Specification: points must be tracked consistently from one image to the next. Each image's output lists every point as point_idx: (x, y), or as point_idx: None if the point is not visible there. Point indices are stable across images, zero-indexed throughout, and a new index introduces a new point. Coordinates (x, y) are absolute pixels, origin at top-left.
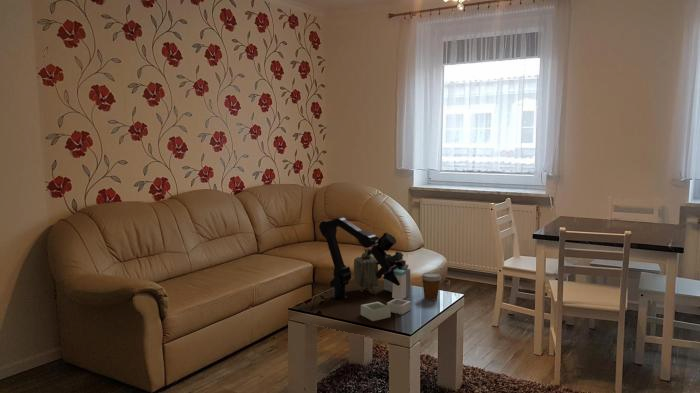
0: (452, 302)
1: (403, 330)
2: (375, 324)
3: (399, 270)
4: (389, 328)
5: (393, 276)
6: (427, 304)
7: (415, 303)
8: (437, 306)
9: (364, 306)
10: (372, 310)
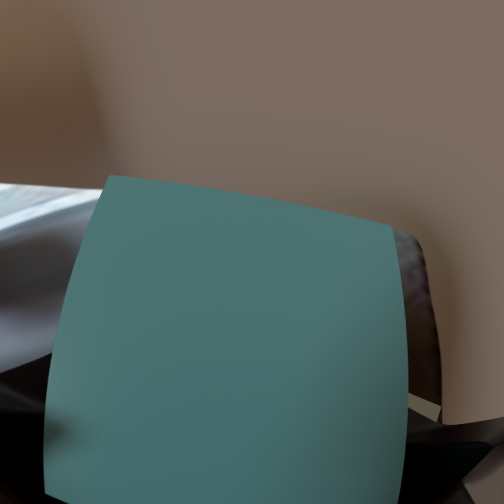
0: (9, 184)
1: (409, 257)
2: (426, 376)
3: (194, 383)
4: (425, 308)
5: (408, 408)
6: (42, 267)
7: (43, 330)
8: (60, 218)
9: None
10: (437, 413)
